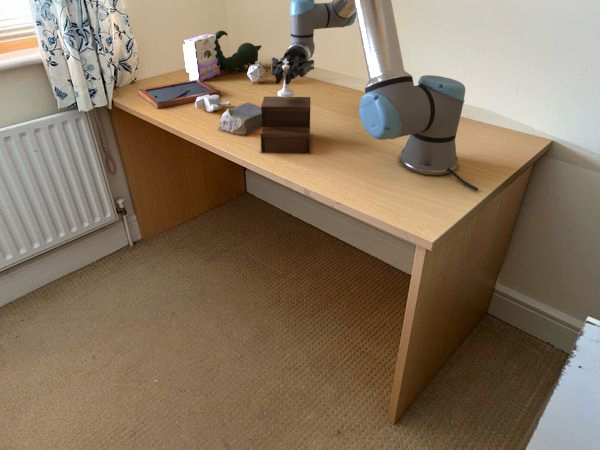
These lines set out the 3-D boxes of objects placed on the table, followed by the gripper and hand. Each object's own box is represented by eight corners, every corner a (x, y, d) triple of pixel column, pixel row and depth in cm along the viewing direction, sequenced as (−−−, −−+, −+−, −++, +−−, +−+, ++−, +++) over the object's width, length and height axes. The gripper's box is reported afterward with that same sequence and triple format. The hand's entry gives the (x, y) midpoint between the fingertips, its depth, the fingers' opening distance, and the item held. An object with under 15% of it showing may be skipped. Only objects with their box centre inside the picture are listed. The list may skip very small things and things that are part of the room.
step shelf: (309, 153, 125) (310, 113, 119) (261, 152, 126) (259, 112, 119) (309, 134, 137) (310, 97, 130) (265, 133, 137) (264, 96, 130)
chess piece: (288, 98, 123) (288, 62, 117) (274, 95, 125) (273, 59, 119) (297, 93, 126) (298, 58, 120) (283, 90, 128) (283, 55, 123)
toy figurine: (222, 81, 189) (269, 66, 201) (214, 35, 178) (264, 22, 189) (212, 76, 196) (258, 62, 207) (203, 31, 184) (252, 19, 195)
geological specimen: (273, 108, 142) (241, 119, 131) (272, 126, 145) (241, 138, 135) (248, 101, 147) (216, 111, 137) (249, 118, 150) (217, 129, 140)
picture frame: (157, 108, 156) (220, 95, 168) (156, 103, 155) (219, 90, 167) (139, 94, 169) (198, 83, 181) (138, 88, 168) (197, 78, 180)
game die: (261, 92, 183) (266, 77, 174) (241, 85, 181) (246, 69, 173) (266, 76, 187) (271, 60, 178) (247, 69, 185) (251, 53, 176)
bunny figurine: (210, 91, 160) (233, 96, 150) (213, 104, 162) (235, 110, 152) (188, 96, 155) (210, 102, 145) (190, 110, 157) (212, 117, 147)
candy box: (210, 72, 194) (206, 33, 185) (220, 74, 191) (216, 34, 182) (189, 80, 184) (183, 39, 175) (199, 82, 182) (194, 41, 172)
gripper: (320, 71, 138) (309, 94, 119) (273, 68, 140) (255, 91, 121) (321, 46, 133) (309, 66, 114) (273, 43, 135) (254, 63, 116)
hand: (282, 79), depth 118 cm, fingers closed on chess piece, 2 cm apart
